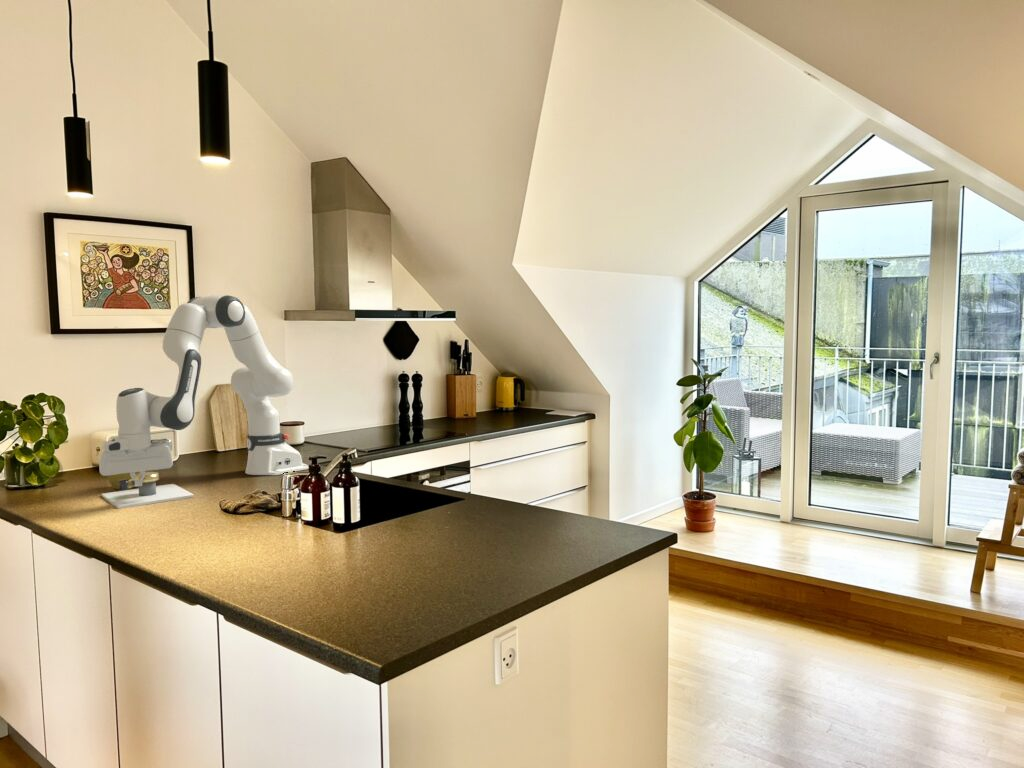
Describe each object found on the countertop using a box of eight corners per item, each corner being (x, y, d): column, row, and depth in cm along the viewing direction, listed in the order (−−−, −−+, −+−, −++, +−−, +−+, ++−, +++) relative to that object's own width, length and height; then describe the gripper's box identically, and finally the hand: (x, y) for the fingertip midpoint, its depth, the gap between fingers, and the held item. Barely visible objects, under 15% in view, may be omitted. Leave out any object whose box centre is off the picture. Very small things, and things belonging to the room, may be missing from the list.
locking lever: (142, 478, 246) (142, 469, 245) (163, 478, 245) (162, 469, 245) (110, 490, 229) (109, 480, 228) (132, 490, 228) (132, 481, 228)
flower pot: (131, 490, 251) (130, 464, 250) (105, 491, 251) (104, 464, 251) (145, 485, 260) (143, 459, 259) (120, 485, 260) (118, 459, 259)
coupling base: (173, 485, 258) (172, 471, 257) (194, 497, 241) (193, 481, 241) (101, 496, 244) (100, 480, 243) (118, 508, 227) (117, 492, 227)
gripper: (170, 436, 240) (173, 479, 241) (96, 444, 229) (100, 488, 231) (173, 439, 235) (176, 482, 236) (98, 447, 224) (102, 492, 225)
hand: (138, 485), depth 233 cm, fingers closed
